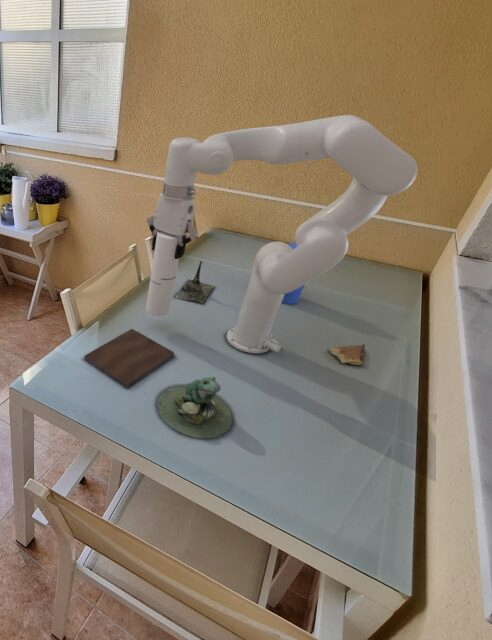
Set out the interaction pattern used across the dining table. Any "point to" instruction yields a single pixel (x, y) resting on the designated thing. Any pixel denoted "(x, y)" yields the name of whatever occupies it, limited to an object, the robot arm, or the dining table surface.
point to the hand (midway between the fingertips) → (167, 252)
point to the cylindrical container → (162, 274)
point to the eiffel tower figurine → (195, 289)
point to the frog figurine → (195, 409)
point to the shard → (349, 354)
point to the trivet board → (129, 357)
